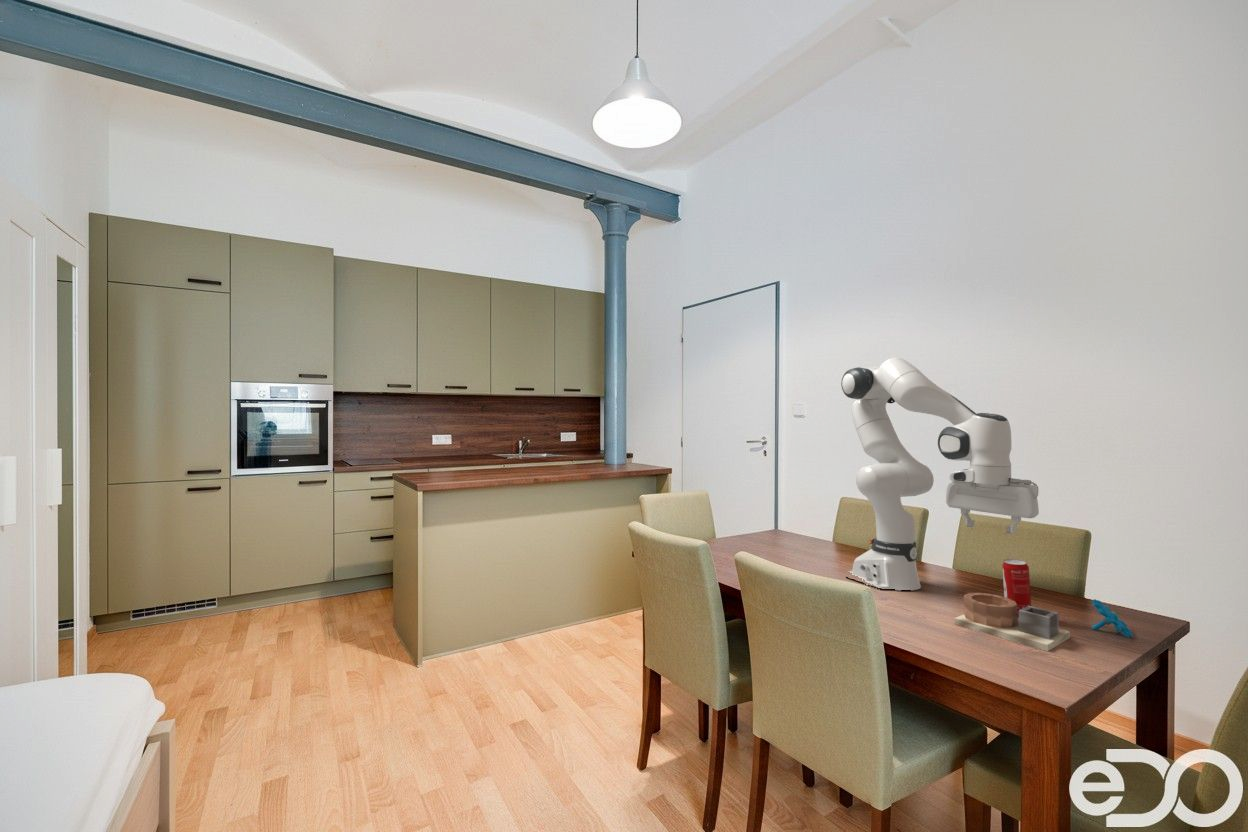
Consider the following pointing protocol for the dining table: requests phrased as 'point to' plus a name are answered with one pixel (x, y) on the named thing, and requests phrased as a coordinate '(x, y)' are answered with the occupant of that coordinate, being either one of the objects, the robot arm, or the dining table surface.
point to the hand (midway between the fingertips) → (989, 530)
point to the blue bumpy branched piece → (1110, 619)
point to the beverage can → (1017, 582)
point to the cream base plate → (1011, 621)
